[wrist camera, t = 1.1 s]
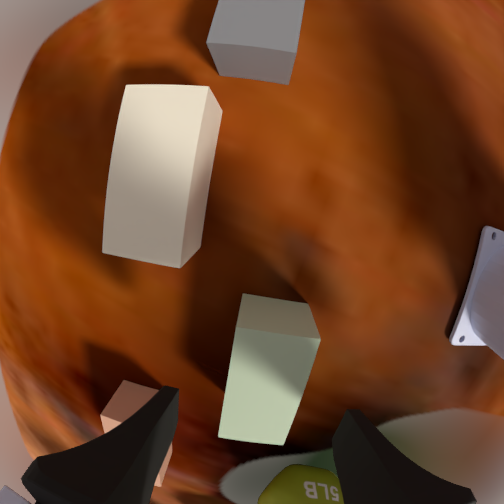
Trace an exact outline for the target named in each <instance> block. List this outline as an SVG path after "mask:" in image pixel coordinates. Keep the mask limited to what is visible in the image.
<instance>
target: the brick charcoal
mask: <svg viewBox="0 0 504 504" xmlns="http://www.w3.org/2000/svg"><path fill="white" fill-rule="evenodd" d="M304 3H305V0H219V1H218V5H217V8H216V11H215V14H214V17H213V21H212V24H211V27H210V31H209V34H208V38H207V42H206V44H207V46H208V48H209V51H210V53H211V55H212V58H213V60H214V63H215V65H216V68H217V70H218V73H219V75H220V76H228V77H238V78H246V79H254V80H261V81H268V82H274V83H280V84H286V85H289V81H290V77H291V73H292V69H293V65H294V61H295V57H296V53H297V47H298V40H299V34H300V28H301V22H302V15H303V9H304Z"/></svg>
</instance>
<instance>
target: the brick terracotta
mask: <svg viewBox="0 0 504 504" xmlns="http://www.w3.org/2000/svg"><path fill="white" fill-rule="evenodd" d="M158 391H159V390H157V389H153V388H149V387H146V386H142V385H139V384H136V383H132V382H129V381H126V380H123V382H122V383H121V385H120V386H119V388H118V389H117V391H116V392H115V394H114V395H113V397H112V398H111V400H110V401H109V403H108V404H107V406H106V407H105V409H104V410H103V412H102V413H101V420H102V424H103V428H104V432H105V433H107V432H108V431H110V430H112V429H113V428H115V427H116V426H118V425H119V424H121V423H122V422H124V421H125V420H126V419H128V418H129V417H130V416H132V415H133V414H134V413H135V412H136V411H138V410H139V409H140V408H141V407H142V406H143V405H145V404H146V403H147V402H148V401H149V400H150V399H151V398H152V397H153V396H154V395H155V394H156V393H157V392H158ZM171 454H172V443H171V445H170V447H169V450H168V452H167V455H166V457H165V459H164V462H163V464H162V466H161V469H160V471H159V473H158V476H157V478H156V481H155V484H154V485H156V486H159V487H161V484H162V481H163V478H164V475H165V472H166V469H167V466H168V463H169V460H170V457H171Z"/></svg>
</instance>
